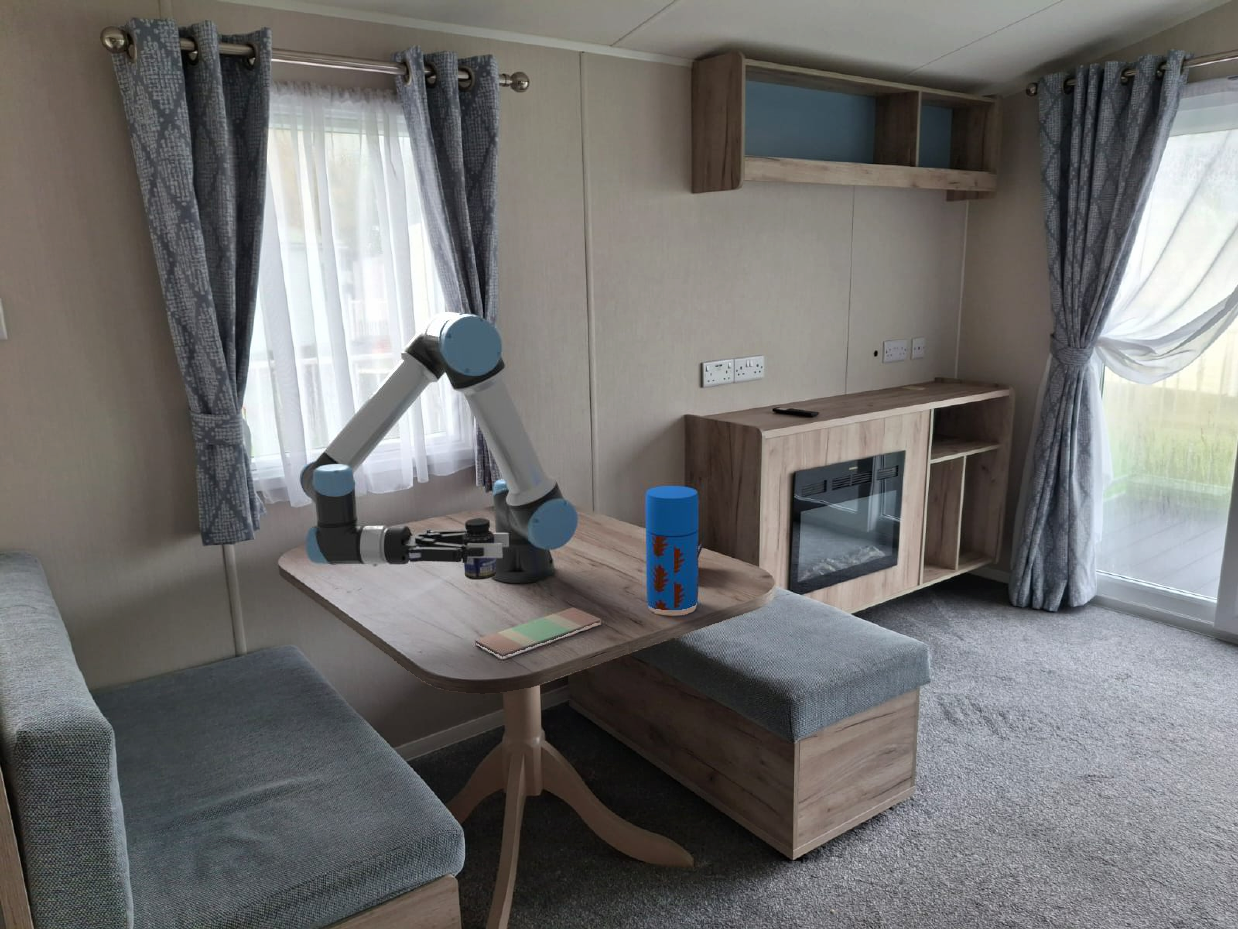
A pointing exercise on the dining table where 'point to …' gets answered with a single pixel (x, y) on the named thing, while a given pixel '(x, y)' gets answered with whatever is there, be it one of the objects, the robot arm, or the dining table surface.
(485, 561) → the pill bottle
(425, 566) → the dining table surface
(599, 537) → the dining table surface
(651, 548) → the thermos
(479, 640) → the gauge plate
